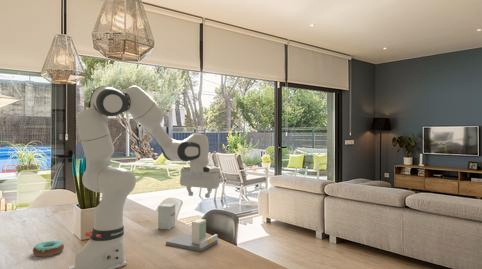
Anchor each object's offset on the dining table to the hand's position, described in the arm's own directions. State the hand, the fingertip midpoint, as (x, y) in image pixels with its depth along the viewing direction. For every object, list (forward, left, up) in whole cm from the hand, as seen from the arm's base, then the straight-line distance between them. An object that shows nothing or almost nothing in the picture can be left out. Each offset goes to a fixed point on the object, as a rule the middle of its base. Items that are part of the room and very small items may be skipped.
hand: (199, 196), depth 160 cm
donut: (-39, +53, -23) cm, 70 cm away
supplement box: (+16, +32, -23) cm, 43 cm away
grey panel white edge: (0, +4, -23) cm, 23 cm away
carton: (0, 0, -22) cm, 22 cm away
